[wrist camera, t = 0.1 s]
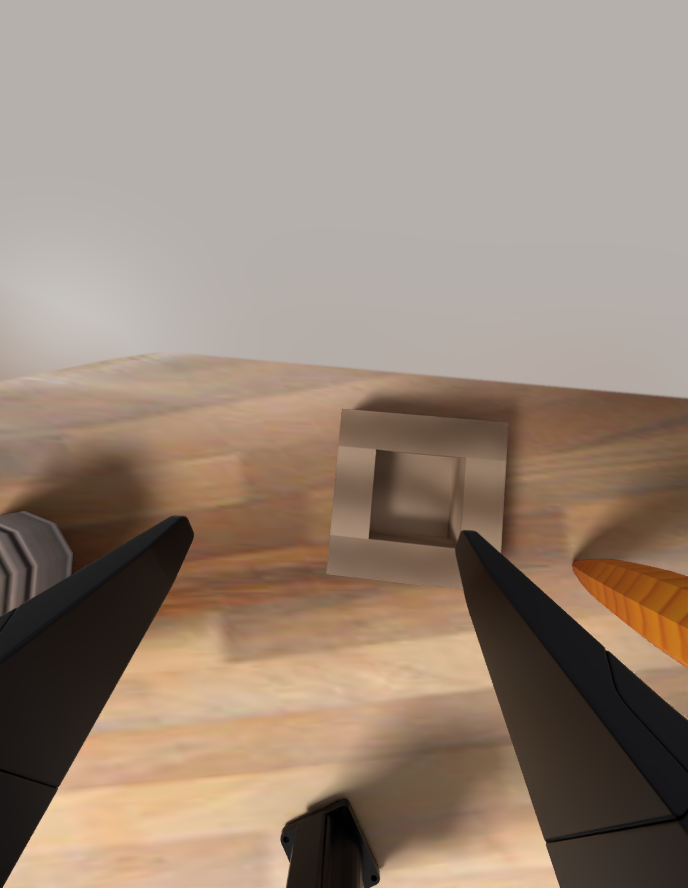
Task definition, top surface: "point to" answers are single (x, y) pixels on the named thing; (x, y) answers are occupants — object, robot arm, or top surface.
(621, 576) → the carrot
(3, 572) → the can
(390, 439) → the walnut socket block
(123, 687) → the top surface
